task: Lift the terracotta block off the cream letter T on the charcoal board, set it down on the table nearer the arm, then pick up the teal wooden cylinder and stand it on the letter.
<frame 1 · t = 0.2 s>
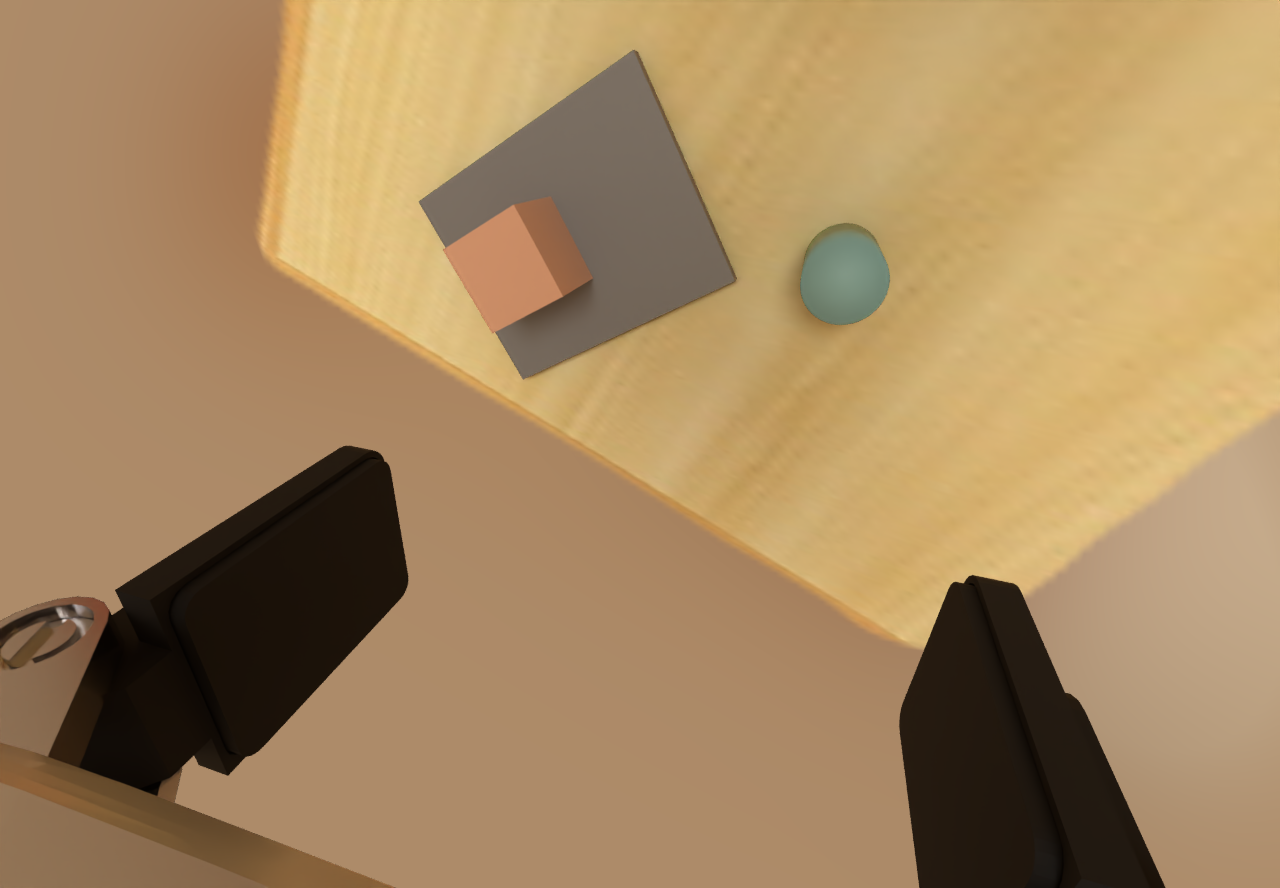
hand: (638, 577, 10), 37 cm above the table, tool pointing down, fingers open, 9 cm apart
block: (538, 257, 45), point 1 cm above the table, touching board
board: (574, 237, 45), on the table
cylinder: (841, 261, 41), on the table
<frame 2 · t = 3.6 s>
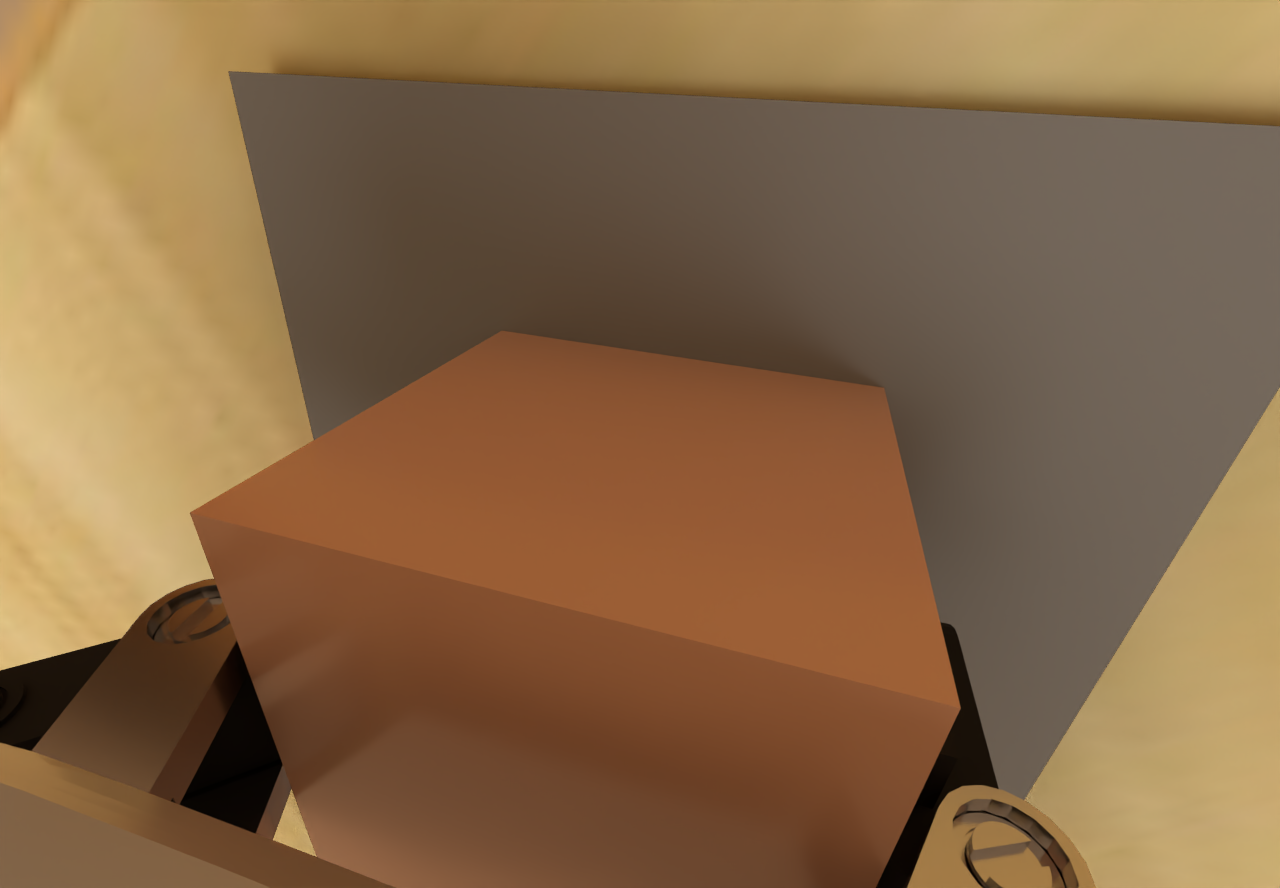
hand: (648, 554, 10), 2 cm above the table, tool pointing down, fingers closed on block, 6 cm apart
block: (664, 517, 11), point 1 cm above the table, touching board, gripper
board: (664, 599, 14), on the table
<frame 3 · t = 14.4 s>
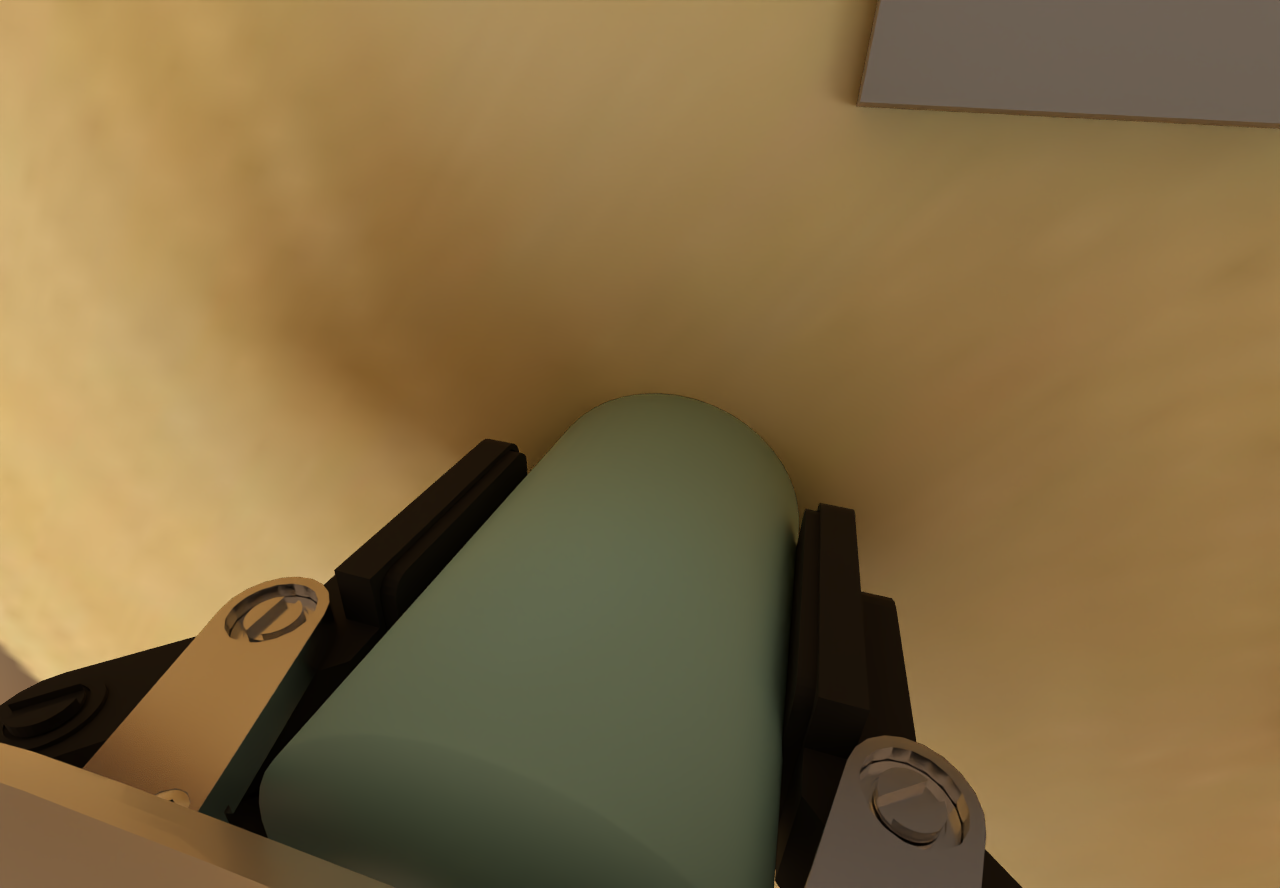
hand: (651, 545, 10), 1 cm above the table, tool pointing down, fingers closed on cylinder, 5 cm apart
cylinder: (666, 513, 11), on the table, touching gripper
when the fingers open (4 cm above the table, at t = 20.4 s): cylinder drops 1 cm, resting on board.
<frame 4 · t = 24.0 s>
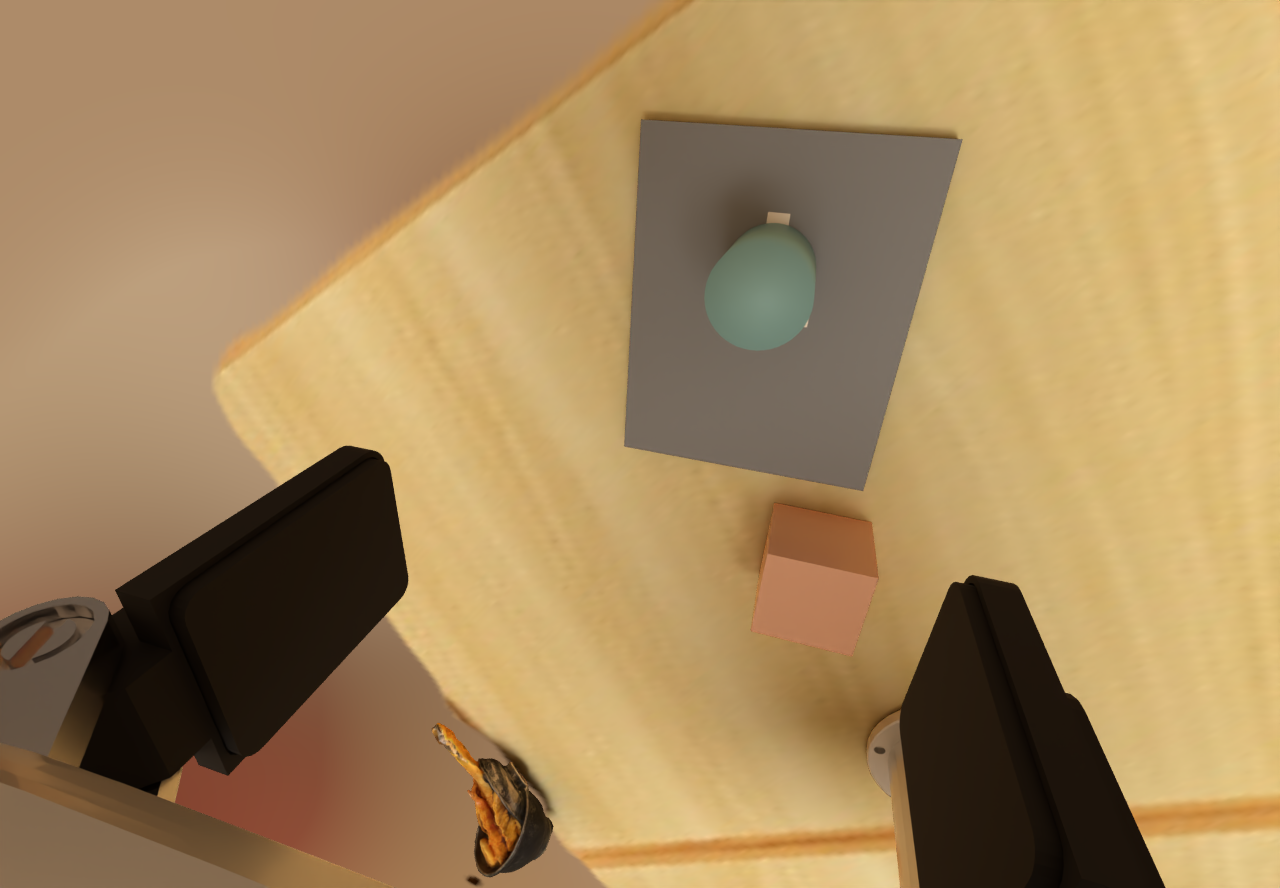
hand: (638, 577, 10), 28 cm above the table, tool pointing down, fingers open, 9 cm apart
block: (812, 549, 42), on the table
board: (763, 317, 35), on the table
cylinder: (770, 269, 33), point 1 cm above the table, touching board
black and orange piece: (506, 763, 65), on the table
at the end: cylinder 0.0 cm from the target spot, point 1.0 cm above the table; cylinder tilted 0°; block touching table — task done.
